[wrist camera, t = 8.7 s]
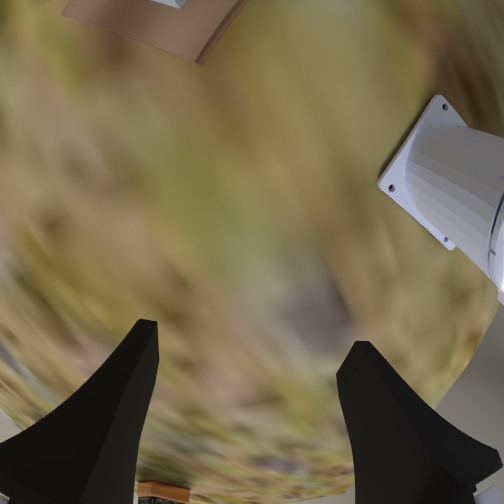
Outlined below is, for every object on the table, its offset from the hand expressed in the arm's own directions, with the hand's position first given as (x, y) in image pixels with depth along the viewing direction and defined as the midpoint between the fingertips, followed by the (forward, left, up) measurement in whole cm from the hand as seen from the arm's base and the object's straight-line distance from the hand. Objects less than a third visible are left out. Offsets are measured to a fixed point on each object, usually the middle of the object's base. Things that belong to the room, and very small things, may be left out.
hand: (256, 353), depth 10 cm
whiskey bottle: (-16, +68, -10) cm, 71 cm away
